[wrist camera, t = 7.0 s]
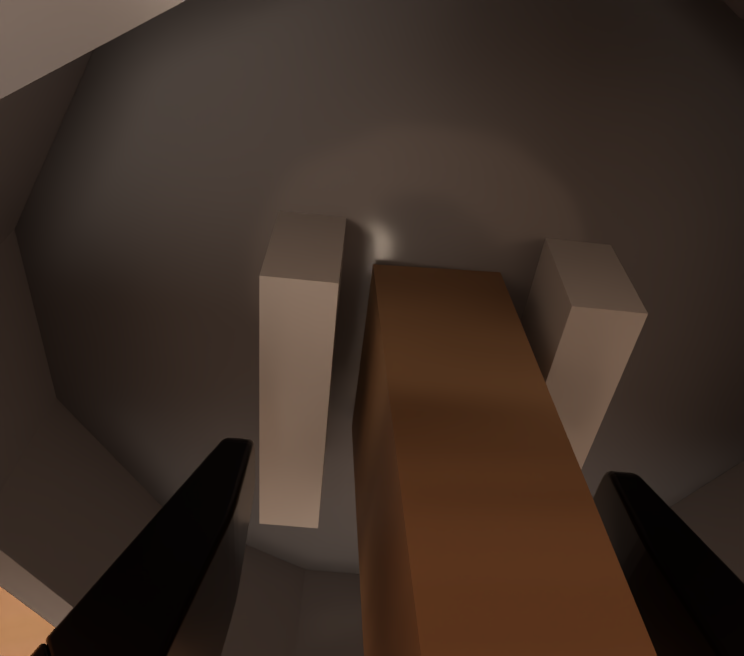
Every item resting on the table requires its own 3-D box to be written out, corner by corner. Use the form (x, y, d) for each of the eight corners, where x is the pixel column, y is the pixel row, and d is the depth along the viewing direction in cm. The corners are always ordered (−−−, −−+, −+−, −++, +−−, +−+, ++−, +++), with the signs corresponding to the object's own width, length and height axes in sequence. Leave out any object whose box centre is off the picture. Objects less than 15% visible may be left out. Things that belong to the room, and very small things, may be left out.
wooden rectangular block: (457, 431, 12) (545, 810, 8) (351, 427, 12) (372, 815, 7) (500, 272, 10) (656, 655, 6) (372, 264, 10) (422, 658, 5)
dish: (666, 593, 16) (724, 750, 14) (78, 546, 16) (10, 699, 13) (1111, -87, 8) (1515, -46, 5) (-137, -247, 7) (-472, -301, 4)
